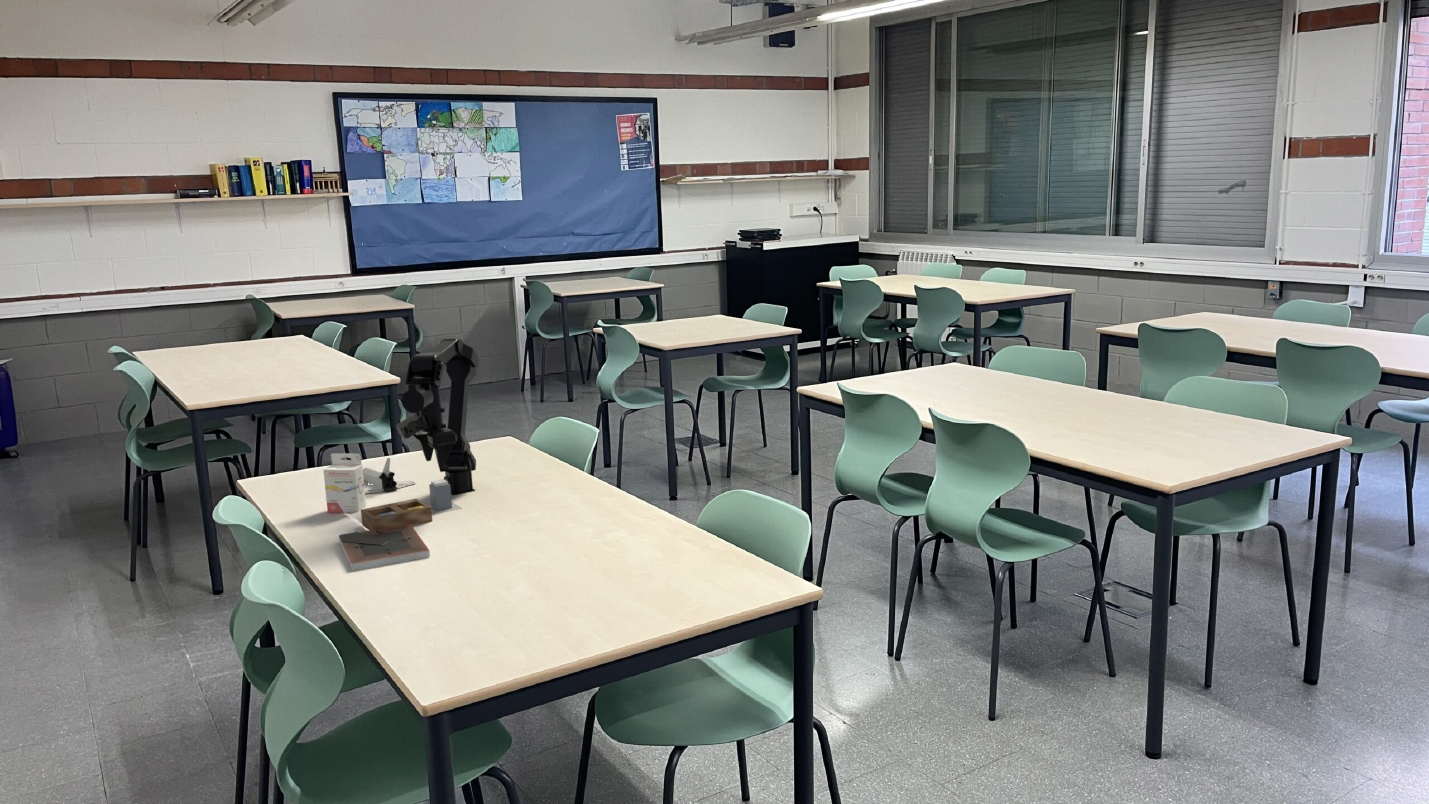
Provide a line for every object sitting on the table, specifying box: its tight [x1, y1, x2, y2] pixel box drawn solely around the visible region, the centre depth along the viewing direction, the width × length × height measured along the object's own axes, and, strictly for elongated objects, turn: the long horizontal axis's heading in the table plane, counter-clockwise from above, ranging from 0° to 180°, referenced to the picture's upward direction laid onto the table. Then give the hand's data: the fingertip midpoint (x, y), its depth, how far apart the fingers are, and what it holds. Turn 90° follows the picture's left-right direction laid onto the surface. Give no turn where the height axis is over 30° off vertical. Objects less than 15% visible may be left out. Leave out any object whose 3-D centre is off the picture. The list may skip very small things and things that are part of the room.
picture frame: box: [338, 524, 431, 572], centre depth 233 cm, size 16×2×22 cm
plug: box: [428, 478, 452, 511], centre depth 260 cm, size 4×4×7 cm
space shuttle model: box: [363, 457, 416, 495], centre depth 287 cm, size 16×25×10 cm, turn 37°
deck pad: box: [429, 502, 463, 516], centre depth 261 cm, size 8×8×1 cm
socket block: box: [360, 498, 433, 531], centre depth 250 cm, size 14×10×4 cm
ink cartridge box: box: [323, 453, 367, 514], centre depth 261 cm, size 9×5×15 cm, turn 84°
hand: (435, 464), depth 259 cm, fingers open, 9 cm apart
